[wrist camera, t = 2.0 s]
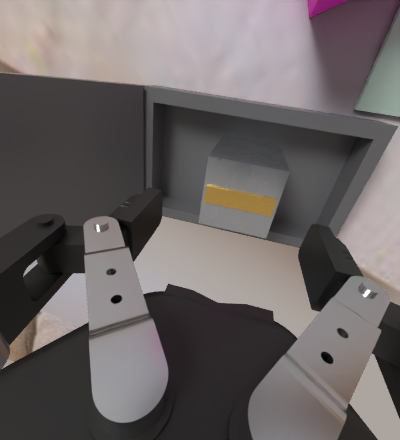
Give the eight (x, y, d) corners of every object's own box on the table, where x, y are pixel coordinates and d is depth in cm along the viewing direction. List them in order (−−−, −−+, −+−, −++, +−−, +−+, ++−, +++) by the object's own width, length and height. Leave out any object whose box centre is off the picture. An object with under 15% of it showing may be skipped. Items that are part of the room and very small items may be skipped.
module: (280, 146, 19) (290, 172, 13) (263, 197, 22) (266, 240, 16) (223, 135, 20) (207, 156, 14) (213, 187, 22) (197, 224, 16)
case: (377, 120, 17) (809, 239, 4) (318, 235, 23) (405, 444, 10) (89, 74, 20) (-253, 48, 7) (102, 187, 26) (-67, 294, 12)
